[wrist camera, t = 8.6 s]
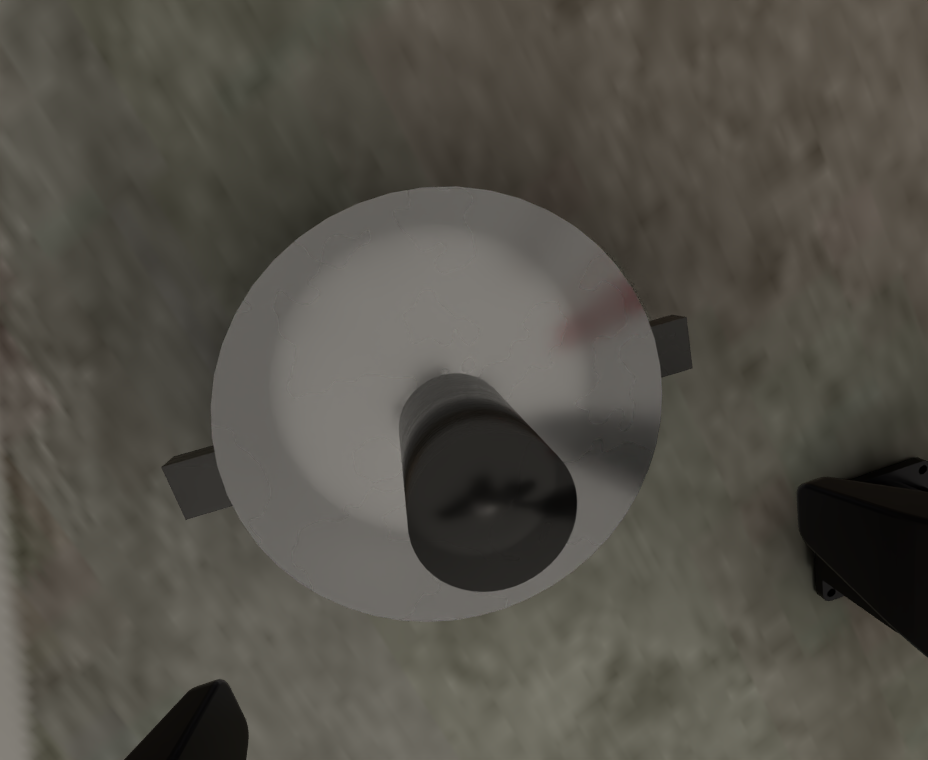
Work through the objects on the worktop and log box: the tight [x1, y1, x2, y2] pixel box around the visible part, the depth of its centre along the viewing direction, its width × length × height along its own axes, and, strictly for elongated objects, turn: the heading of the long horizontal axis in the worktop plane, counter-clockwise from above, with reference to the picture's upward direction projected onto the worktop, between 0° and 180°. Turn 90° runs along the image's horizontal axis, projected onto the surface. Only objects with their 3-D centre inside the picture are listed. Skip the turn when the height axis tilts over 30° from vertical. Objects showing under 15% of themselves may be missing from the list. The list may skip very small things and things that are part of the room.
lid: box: [211, 186, 662, 622], centre depth 11 cm, size 13×13×6 cm
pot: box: [162, 315, 692, 520], centre depth 16 cm, size 17×12×5 cm
